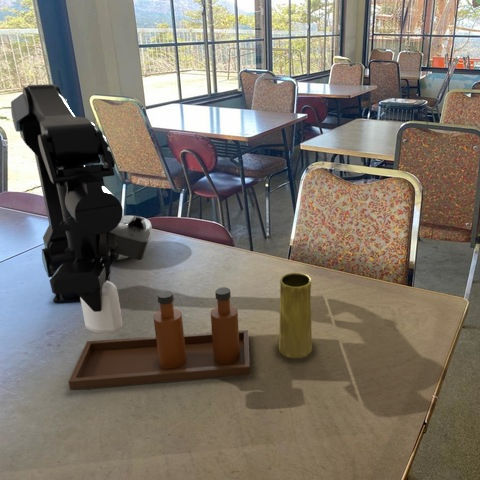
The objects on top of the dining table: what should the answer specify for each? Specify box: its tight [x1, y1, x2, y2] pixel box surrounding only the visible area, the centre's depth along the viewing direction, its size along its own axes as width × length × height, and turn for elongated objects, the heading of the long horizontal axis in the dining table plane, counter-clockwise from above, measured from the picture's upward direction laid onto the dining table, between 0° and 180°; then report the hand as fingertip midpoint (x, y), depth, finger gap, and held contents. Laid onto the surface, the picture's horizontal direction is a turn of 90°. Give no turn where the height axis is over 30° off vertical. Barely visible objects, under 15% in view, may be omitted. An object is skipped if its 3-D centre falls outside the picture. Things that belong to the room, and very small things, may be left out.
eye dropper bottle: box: [80, 281, 124, 334], centre depth 75 cm, size 4×6×12 cm
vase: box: [278, 272, 313, 359], centre depth 83 cm, size 6×6×14 cm
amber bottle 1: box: [152, 290, 186, 369], centre depth 79 cm, size 4×4×13 cm
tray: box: [68, 329, 251, 391], centre depth 81 cm, size 28×11×2 cm, turn 99°
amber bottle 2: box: [210, 286, 240, 364], centre depth 80 cm, size 4×4×13 cm
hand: (101, 304), depth 76 cm, fingers closed on eye dropper bottle, 4 cm apart
